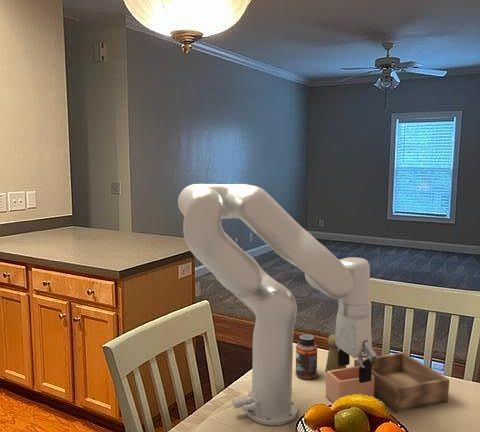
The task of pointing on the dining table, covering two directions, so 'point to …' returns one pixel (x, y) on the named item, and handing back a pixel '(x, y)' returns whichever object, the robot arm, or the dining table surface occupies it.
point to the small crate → (346, 384)
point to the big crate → (406, 383)
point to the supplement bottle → (306, 357)
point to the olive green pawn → (332, 355)
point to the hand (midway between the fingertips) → (354, 373)
